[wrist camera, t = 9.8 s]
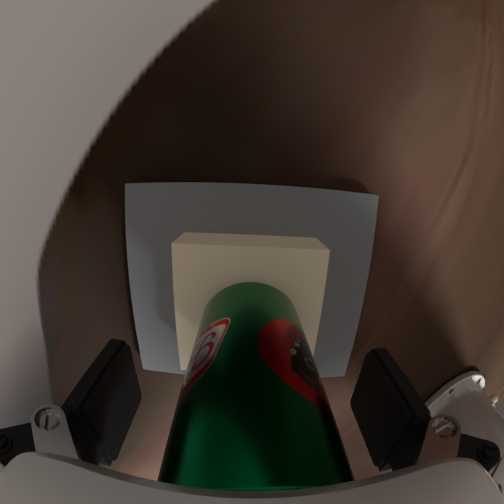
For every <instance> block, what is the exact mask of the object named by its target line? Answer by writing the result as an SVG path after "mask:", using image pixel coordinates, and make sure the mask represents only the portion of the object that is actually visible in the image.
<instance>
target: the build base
mask: <svg viewBox="0 0 504 504" xmlns="http://www.w3.org/2000/svg"><path fill="white" fill-rule="evenodd" d="M378 198H379V195H373V194H366V193H358V192H349V191H340V190H330V189H320V188H309V187H296V186H282V185H265V184H244V183H211V182H156V183H127V184H125V224H126V245H127V259H128V271H129V281H130V291H131V299H132V306H133V314H134V320H135V327H136V333H137V339H138V344H139V350H140V355H141V360H142V365H143V369H146V370H153V371H160V372H167V373H176V374H184V375H185V374H186V370H187V367H188V363H189V360H190V356H191V353H192V349H193V346H194V343H195V339H196V336H197V332H198V329H199V326H200V322H201V319H202V316H203V312H204V310H205V308H206V306H207V304H208V303H209V301H210V300H211V299H212V298H213V297H214V296H215V295H216V294H217V293H218V292H220V291H221V290H222V289H224V288H226V287H228V286H231V285H234V284H237V283H243V282H257V283H263V284H267V285H270V286H272V287H274V288H276V289H278V290H280V291H281V292H283V293H284V294H285V295H286V296H287V297H288V298H289V299H290V300H291V302H292V303H293V305H294V307H295V309H296V311H297V314H298V317H299V320H300V322H301V325H302V328H303V330H304V333H305V336H306V339H307V341H308V344H309V347H310V350H311V353H312V355H313V358H314V361H315V364H316V367H317V369H318V372H319V375H320V378H325V377H339V376H345V373H346V369H347V366H348V362H349V359H350V355H351V351H352V348H353V344H354V340H355V336H356V332H357V328H358V324H359V319H360V315H361V310H362V306H363V301H364V296H365V291H366V286H367V280H368V275H369V269H370V263H371V257H372V250H373V243H374V236H375V228H376V219H377V209H378Z"/></svg>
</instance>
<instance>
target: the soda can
mask: <svg viewBox="0 0 504 504" xmlns="http://www.w3.org/2000/svg"><path fill="white" fill-rule="evenodd" d="M158 481H159V482H164V483H169V484H175V485H182V486H189V487H197V488H206V489H218V490H235V491H274V490H291V489H303V488H312V487H320V486H327V485H334V484H340V483H345V482H350V481H355V479H354V476H353V473H352V470H351V467H350V464H349V461H348V458H347V455H346V451H345V448H344V445H343V442H342V439H341V436H340V433H339V430H338V427H337V424H336V421H335V418H334V416H333V413H332V410H331V407H330V404H329V401H328V398H327V395H326V392H325V389H324V387H323V384H322V381H321V378H320V375H319V372H318V369H317V367H316V364H315V361H314V358H313V355H312V353H311V350H310V347H309V344H308V341H307V339H306V336H305V333H304V330H303V328H302V325H301V322H300V320H299V317H298V314H297V311H296V309H295V307H294V305H293V303H292V302H291V300H290V299H289V298H288V297H287V296H286V295H285V294H284V293H283V292H281V291H280V290H278V289H276V288H274V287H272V286H270V285H267V284H263V283H257V282H243V283H237V284H234V285H231V286H228V287H226V288H224V289H222V290H221V291H220V292H218V293H217V294H216V295H215V296H214V297H213V298H212V299H211V300H210V301H209V303H208V304H207V306H206V308H205V310H204V312H203V316H202V319H201V322H200V326H199V329H198V332H197V336H196V339H195V343H194V346H193V349H192V353H191V356H190V360H189V363H188V367H187V370H186V374H185V377H184V381H183V384H182V388H181V392H180V395H179V399H178V403H177V406H176V410H175V414H174V418H173V421H172V425H171V429H170V433H169V437H168V440H167V444H166V448H165V452H164V456H163V460H162V464H161V468H160V473H159V477H158Z"/></svg>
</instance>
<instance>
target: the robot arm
mask: <svg viewBox="0 0 504 504" xmlns="http://www.w3.org/2000/svg"><path fill="white" fill-rule="evenodd" d="M484 387H485V379H484V377H483V375H482V374H480V373H479V372H478V371H469V372H466V373H463V374H461V375H459V376H457V377H456V378H454V379H453V380H451V381H449V382H448V383H447V384H445V385H444V386H443V387H441V388H440V389H439V390H438V391H437V392H436V393H434V394H433V395H432V396H431V397H430V398H429V399H428V400H427V401H426V402H425V403H424V402H423V400H422V399H421V397H420V396H419V394H418V393H417V391H416V390H415V389H414V387H413V386H412V384H411V383H410V381H409V380H408V379H407V377H406V376H405V374H404V373H403V372H402V370H401V369H400V367H399V366H398V365H397V363H396V362H395V360H394V359H393V358H392V356H391V355H390V354H389V352H388V351H387V349H385V348H377V349H371V351H370V352H369V353H367V354H366V356H365V359H364V363H363V366H362V369H361V372H360V375H359V378H358V381H357V384H356V387H355V389H354V392H353V395H352V398H351V402H350V403H351V408H352V411H353V413H354V416H355V418H356V421H357V423H358V426H359V428H360V431H361V433H362V436H363V438H364V441H365V443H366V446H367V448H368V451H369V453H370V456H371V459H372V461H373V464H374V465H375V466H378V468H379V470H380V472H381V471H384V470H388V469H391V468H392V470H393V471H392V472H389V473H385V474H381V475H377V476H373V477H369V478H364V479H360V480H355V481H350V482H345V483H340V484H334V485H327V486H320V487H312V488H303V489H291V490H274V491H235V490H218V489H206V488H197V487H189V486H182V485H175V484H169V483H164V482H159V481H154V480H149V479H145V478H140V477H136V476H132V475H128V474H124V473H121V472H117V471H114V470H110V469H107V468H104V467H101V466H98V465H99V463H102V464H105V465H108V466H110V465H111V463H112V460H114V461H115V460H116V459H117V457H118V455H119V452H120V450H121V447H122V445H123V442H124V440H125V437H126V435H127V432H128V430H129V427H130V425H131V423H132V420H133V418H134V415H135V413H136V411H137V408H138V406H139V404H140V401H141V391H140V387H139V383H138V379H137V375H136V371H135V367H134V362H133V358H132V353H131V348H130V346H129V345H127V344H126V342H125V341H122V340H116V339H111V340H110V341H109V342H108V343H107V345H106V346H105V347H104V348H103V350H102V351H101V352H100V354H99V355H98V356H97V358H96V359H95V360H94V362H93V363H92V364H91V366H90V367H89V369H88V370H87V371H86V373H85V374H84V375H83V377H82V378H81V379H80V381H79V382H78V384H77V385H76V386H75V388H74V389H73V391H72V392H71V394H70V395H69V396H68V398H67V399H66V401H65V402H64V404H63V405H62V407H61V408H60V407H58V406H56V405H51V404H50V405H43V406H40V407H39V408H37V409H36V410H35V411H34V412H33V414H32V416H31V422H30V423H26V424H22V425H18V426H13V427H8V428H4V429H0V504H504V419H503V417H502V416H501V415H500V414H499V413H498V411H497V410H496V409H495V405H494V403H496V402H497V401H498V395H497V394H494V395H492V396H490V397H488V396H487V394H486V393H485V392H484V391H483V390H484Z"/></svg>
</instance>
